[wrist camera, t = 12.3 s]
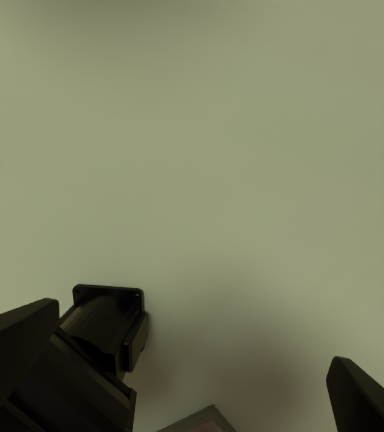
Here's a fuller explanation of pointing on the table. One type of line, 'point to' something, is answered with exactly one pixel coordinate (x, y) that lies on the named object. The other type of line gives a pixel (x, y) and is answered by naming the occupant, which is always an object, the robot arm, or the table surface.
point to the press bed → (201, 422)
